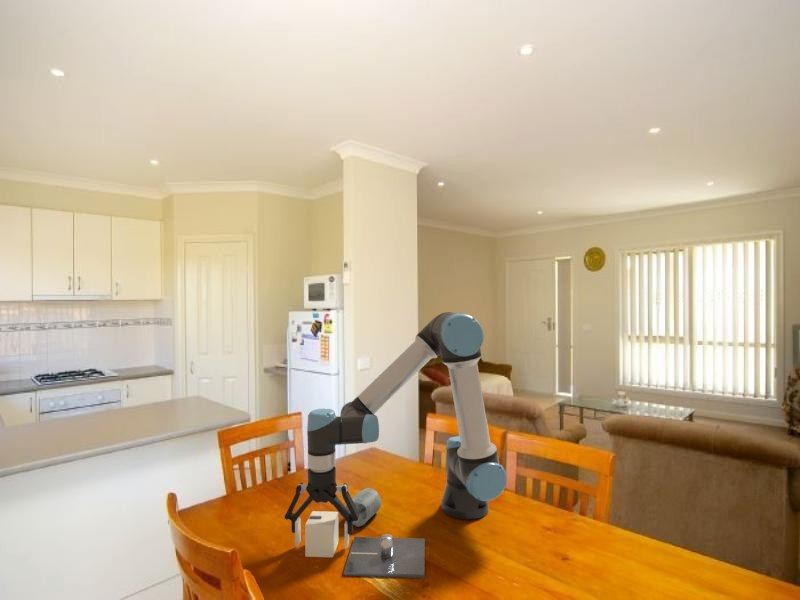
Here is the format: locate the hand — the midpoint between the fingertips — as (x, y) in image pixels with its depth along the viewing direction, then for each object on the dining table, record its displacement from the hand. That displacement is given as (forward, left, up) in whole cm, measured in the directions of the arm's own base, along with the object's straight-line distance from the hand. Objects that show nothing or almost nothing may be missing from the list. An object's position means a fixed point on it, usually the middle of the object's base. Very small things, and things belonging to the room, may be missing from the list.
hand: (322, 544), depth 119 cm
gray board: (-18, +3, -1) cm, 18 cm away
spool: (-9, -17, -2) cm, 19 cm away
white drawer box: (0, 0, -1) cm, 1 cm away
